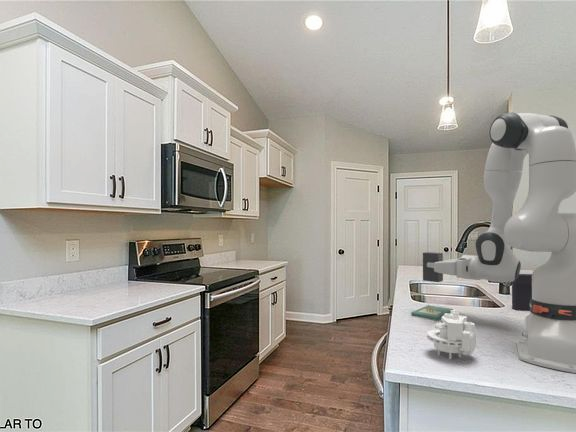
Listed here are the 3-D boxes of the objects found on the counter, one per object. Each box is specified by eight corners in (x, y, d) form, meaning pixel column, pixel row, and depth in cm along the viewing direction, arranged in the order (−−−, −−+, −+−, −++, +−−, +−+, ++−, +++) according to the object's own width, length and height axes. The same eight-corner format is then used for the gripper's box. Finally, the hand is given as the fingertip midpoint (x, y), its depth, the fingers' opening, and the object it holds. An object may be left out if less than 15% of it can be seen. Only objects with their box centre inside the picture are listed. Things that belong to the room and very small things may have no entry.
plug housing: (438, 282, 134) (438, 253, 135) (422, 280, 138) (422, 252, 139) (442, 280, 138) (442, 252, 138) (427, 279, 142) (427, 252, 142)
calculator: (538, 309, 149) (537, 274, 150) (544, 311, 145) (544, 275, 145) (510, 308, 150) (510, 273, 151) (516, 310, 146) (516, 274, 146)
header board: (437, 320, 130) (437, 311, 130) (411, 315, 136) (411, 307, 136) (452, 311, 143) (452, 303, 143) (428, 307, 150) (428, 300, 150)
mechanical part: (432, 345, 102) (432, 304, 103) (478, 354, 96) (478, 311, 96) (422, 357, 93) (422, 312, 94) (472, 367, 86) (472, 319, 87)
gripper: (476, 256, 137) (439, 254, 147) (459, 260, 122) (420, 257, 132) (476, 272, 137) (439, 269, 146) (459, 278, 122) (420, 274, 131)
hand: (430, 264), depth 139 cm, fingers closed on plug housing, 5 cm apart
